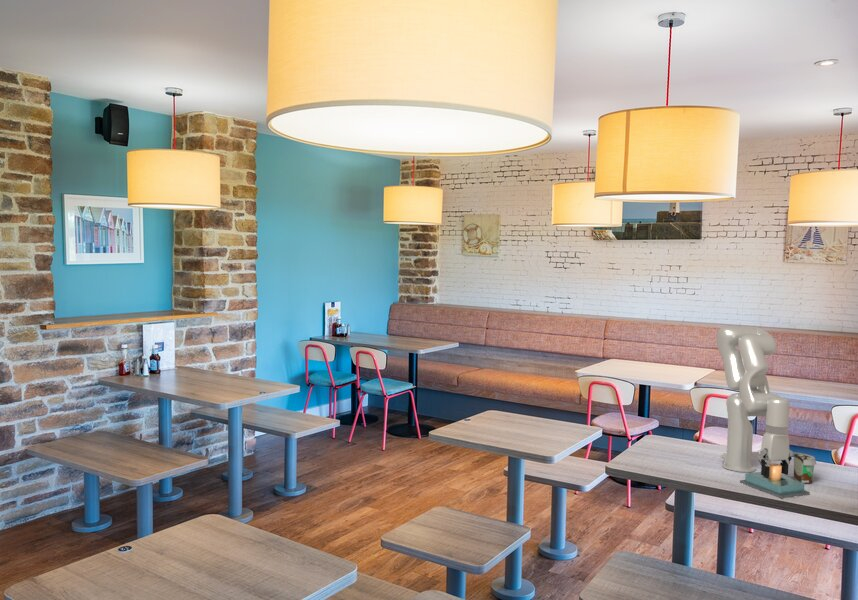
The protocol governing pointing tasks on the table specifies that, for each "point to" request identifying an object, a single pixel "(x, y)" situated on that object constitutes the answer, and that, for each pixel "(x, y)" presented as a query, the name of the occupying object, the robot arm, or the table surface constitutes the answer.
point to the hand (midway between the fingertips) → (774, 474)
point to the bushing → (775, 472)
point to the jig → (775, 485)
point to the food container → (803, 467)
